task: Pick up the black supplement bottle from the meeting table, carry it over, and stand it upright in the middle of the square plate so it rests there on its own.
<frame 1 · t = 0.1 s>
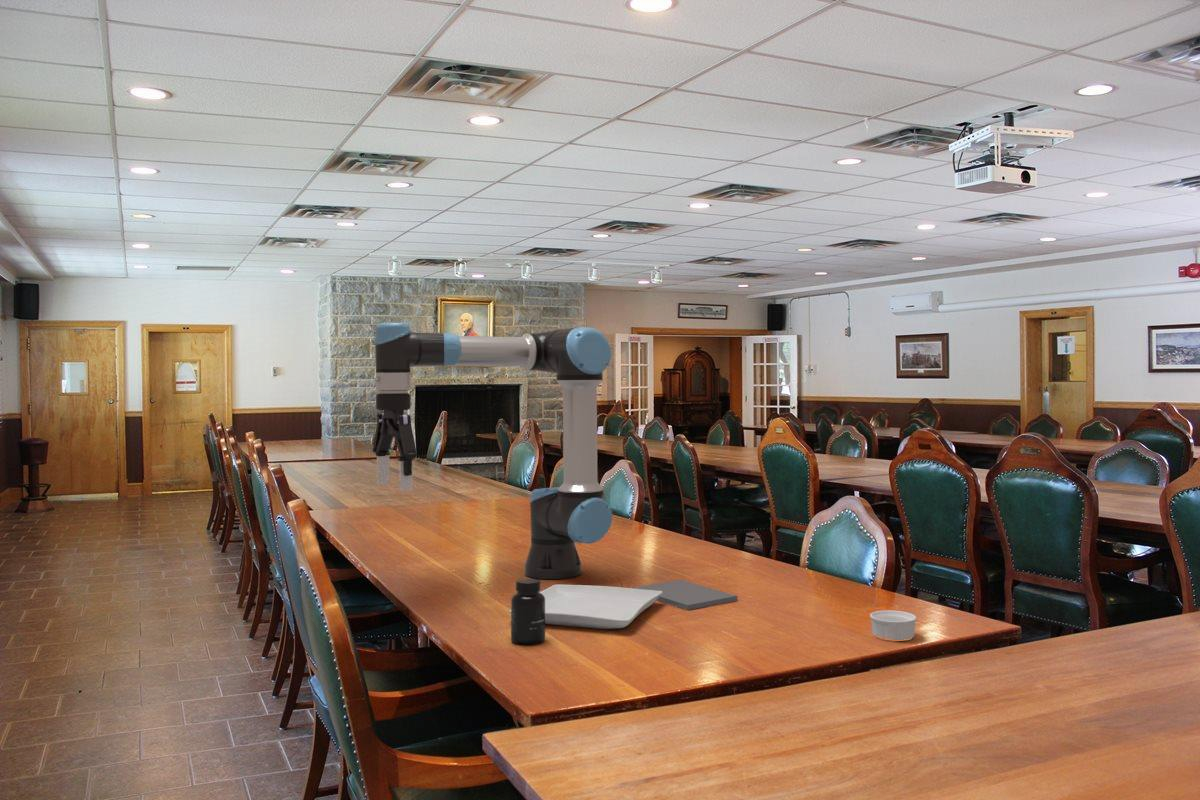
hand: (394, 487, 204), 28 cm above the table, fingers open, 13 cm apart
ramekin: (893, 638, 183), on the table
square plate: (588, 616, 202), on the table
supplement bottle: (528, 641, 182), on the table
folder: (683, 596, 217), on the table
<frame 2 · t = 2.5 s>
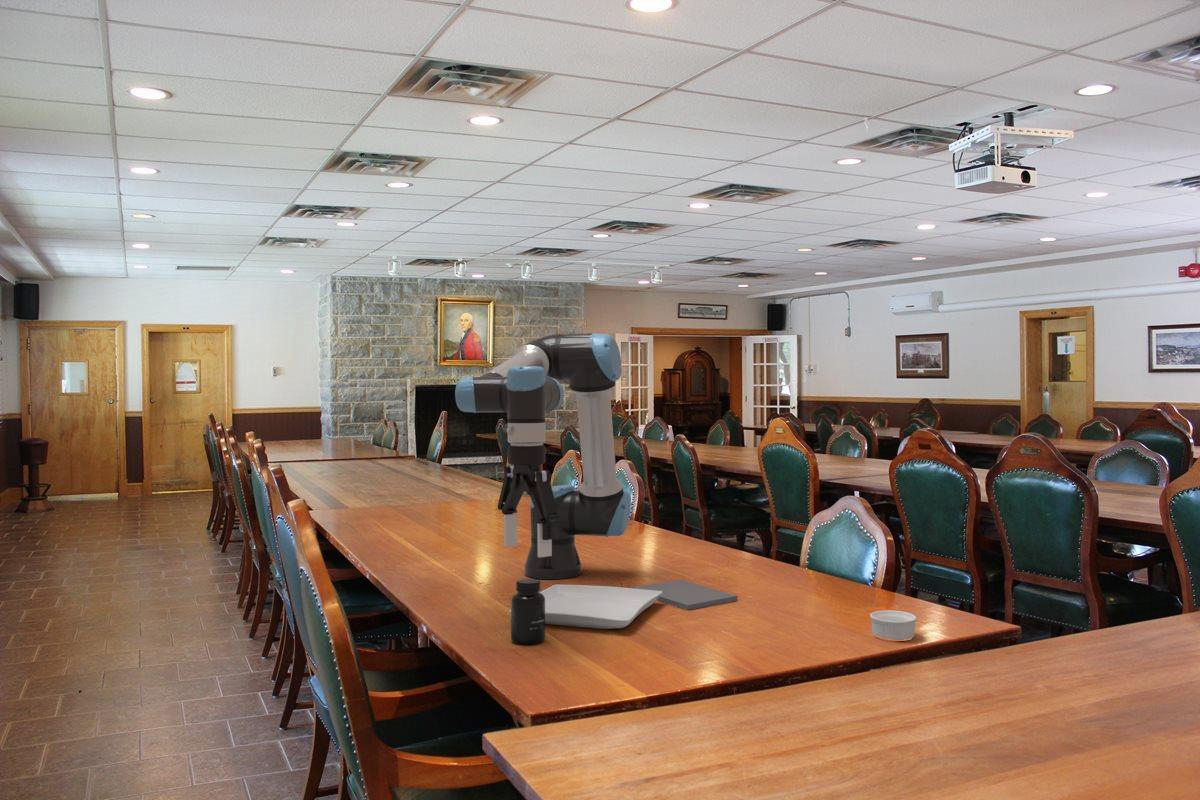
hand: (527, 551, 181), 18 cm above the table, fingers open, 13 cm apart
nothing on the table moved.
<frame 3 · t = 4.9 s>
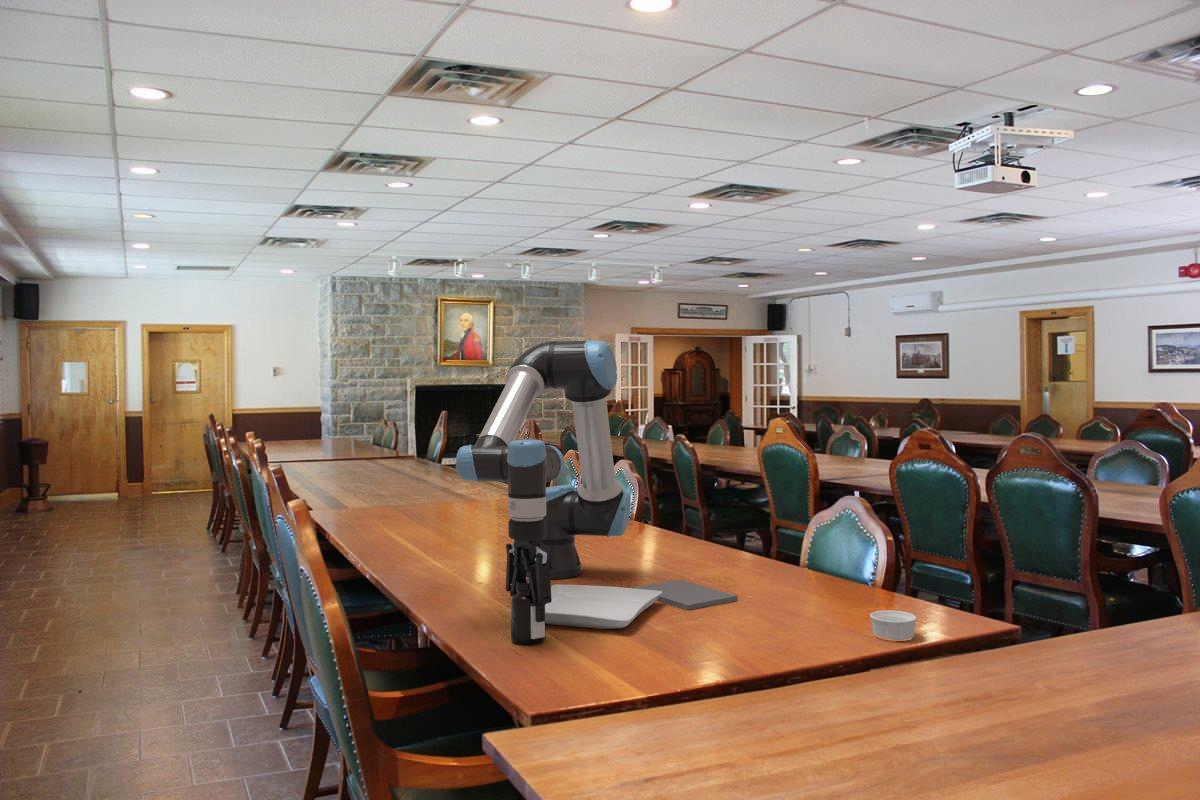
hand: (528, 632, 181), 2 cm above the table, fingers closed on supplement bottle, 7 cm apart
supplement bottle: (528, 641, 182), on the table, touching gripper
everything else where it was.
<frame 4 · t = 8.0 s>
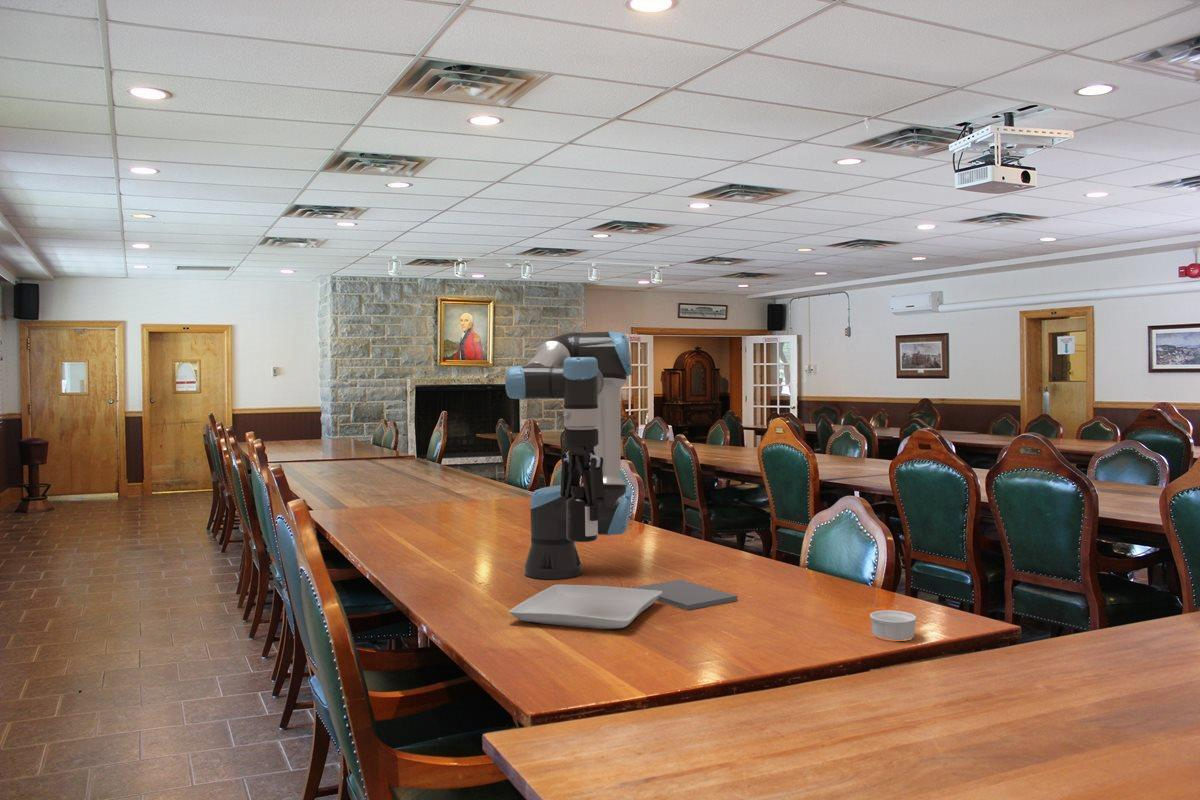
hand: (582, 532, 199), 18 cm above the table, fingers closed on supplement bottle, 7 cm apart
supplement bottle: (582, 540, 199), point 17 cm above the table, touching gripper
everything else where it was.
when the fingers open (7 cm above the table, at t = 11.3 s): supplement bottle drops 2 cm, resting on square plate.
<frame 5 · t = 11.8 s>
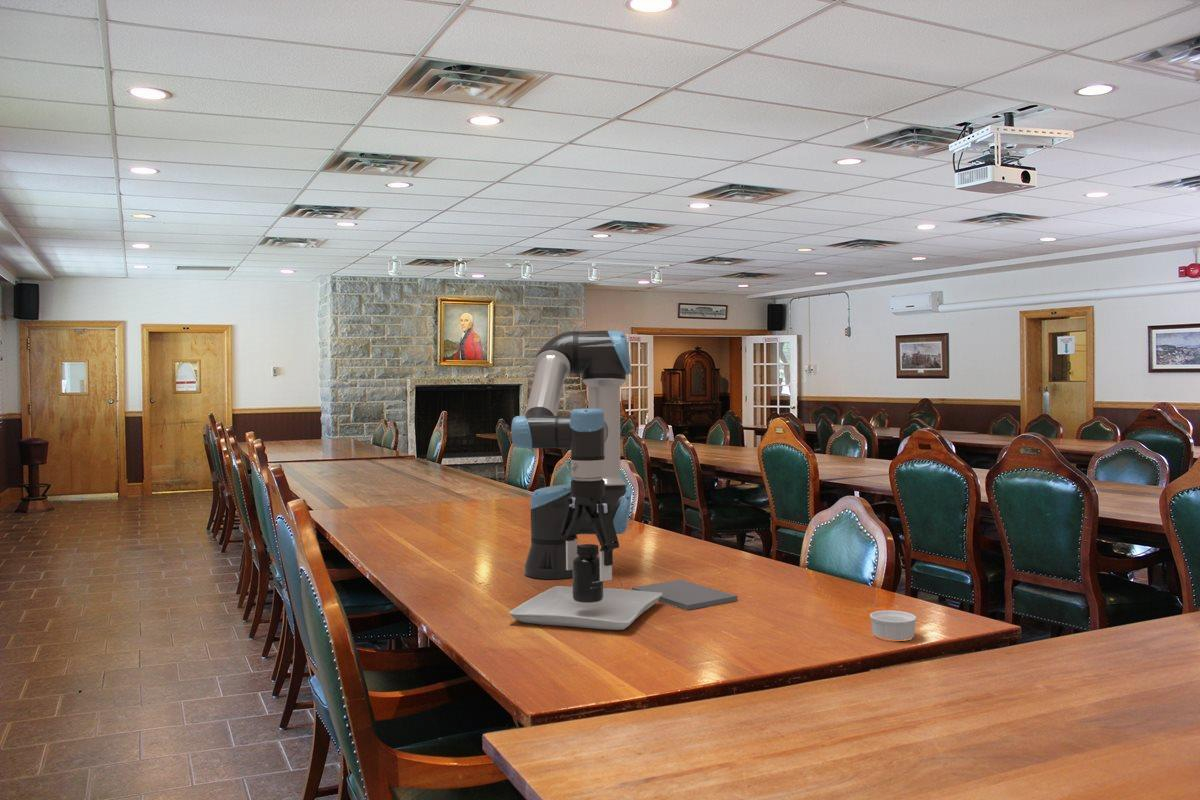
hand: (588, 574, 201), 9 cm above the table, fingers open, 13 cm apart
square plate: (588, 618, 202), on the table, touching supplement bottle
supplement bottle: (588, 600, 202), point 3 cm above the table, touching square plate
everything else where it was.
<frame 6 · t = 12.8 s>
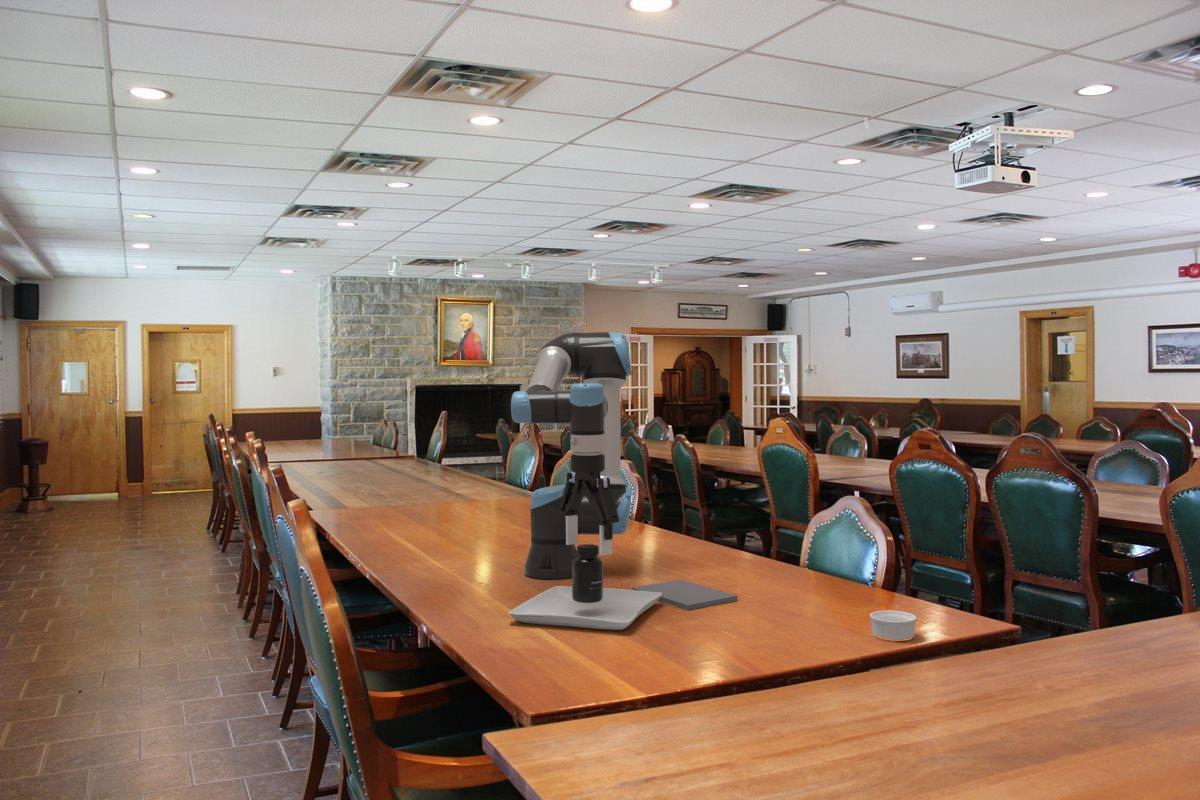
hand: (588, 549, 202), 14 cm above the table, fingers open, 13 cm apart
nothing on the table moved.
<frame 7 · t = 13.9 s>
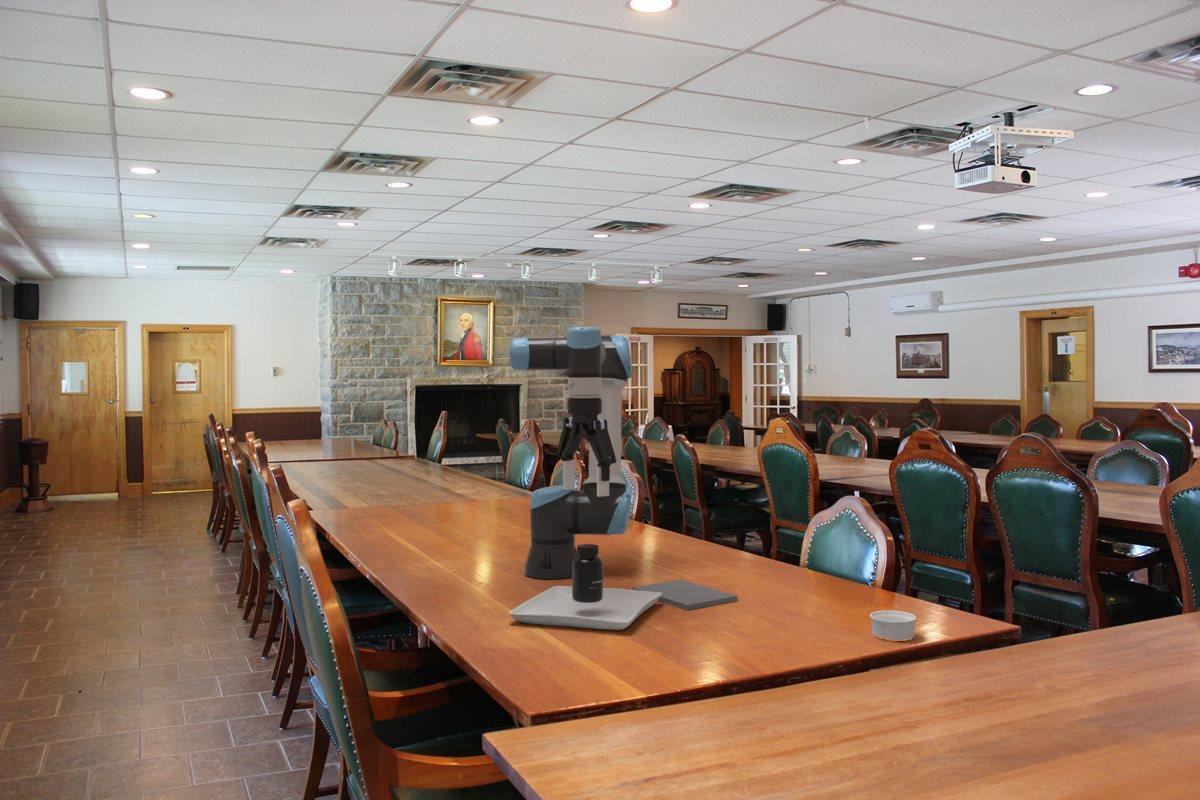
hand: (585, 492, 202), 27 cm above the table, fingers open, 13 cm apart
nothing on the table moved.
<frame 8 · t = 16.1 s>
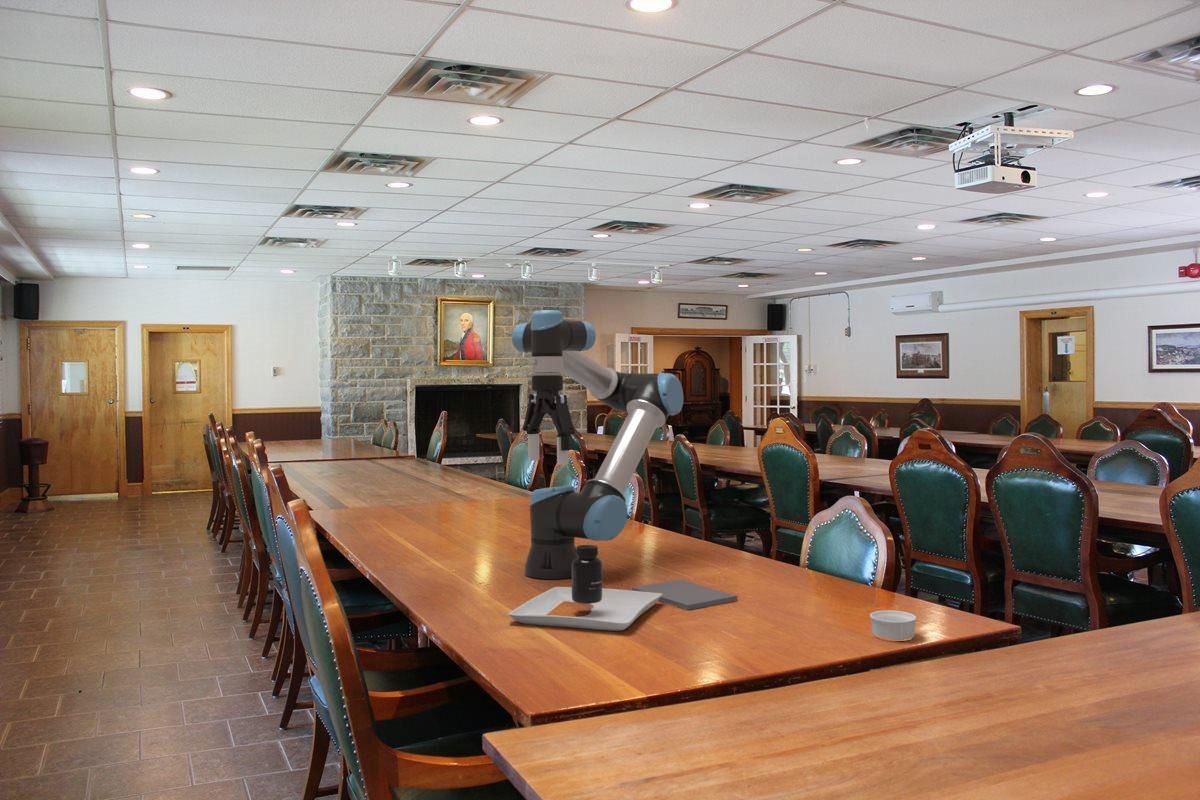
hand: (548, 462, 221), 32 cm above the table, fingers open, 13 cm apart
nothing on the table moved.
at the end: supplement bottle inside the target area on the square plate (0.4 cm from its centre), point 3.9 cm above the square plate's base; supplement bottle tilted 0°; the gripper is holding nothing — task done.
